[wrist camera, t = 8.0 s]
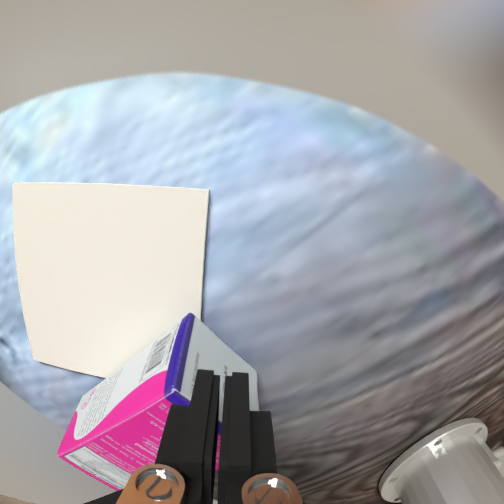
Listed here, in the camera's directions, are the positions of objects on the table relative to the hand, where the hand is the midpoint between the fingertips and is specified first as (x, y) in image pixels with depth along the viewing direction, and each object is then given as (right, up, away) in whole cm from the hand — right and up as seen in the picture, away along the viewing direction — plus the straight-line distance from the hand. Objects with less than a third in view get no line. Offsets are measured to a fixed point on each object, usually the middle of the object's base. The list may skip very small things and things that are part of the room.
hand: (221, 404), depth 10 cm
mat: (-8, +3, +7) cm, 11 cm away
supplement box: (0, -1, +4) cm, 4 cm away
